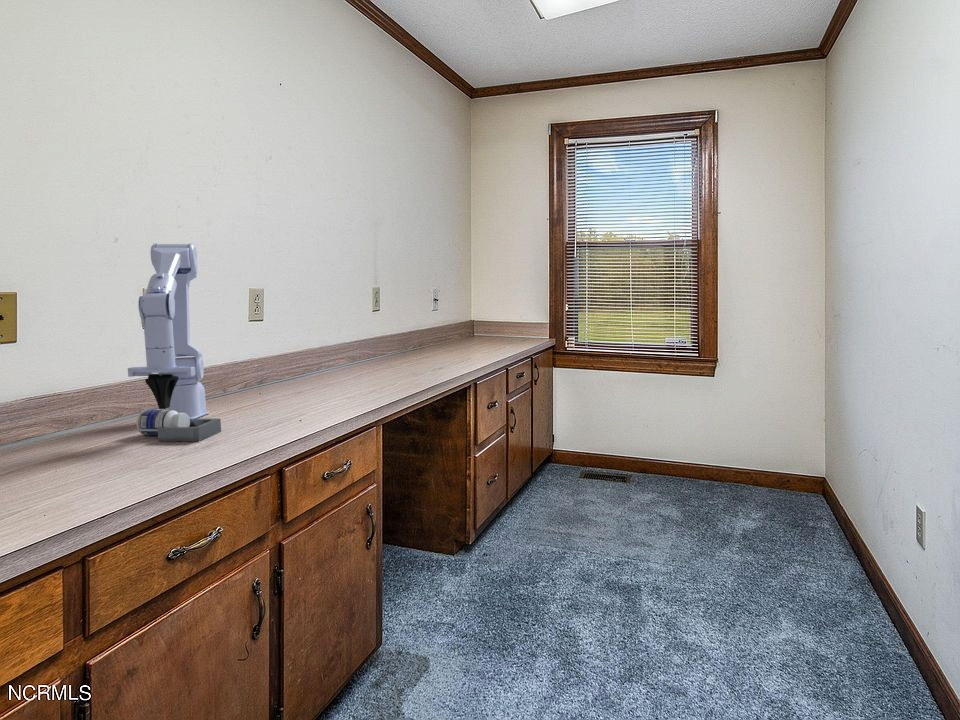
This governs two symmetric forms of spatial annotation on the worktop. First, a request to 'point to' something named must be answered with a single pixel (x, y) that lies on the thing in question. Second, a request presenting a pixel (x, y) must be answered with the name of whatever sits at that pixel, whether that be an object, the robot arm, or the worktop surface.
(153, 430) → the pill bottle
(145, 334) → the robot arm
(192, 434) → the metal u-channel bracket
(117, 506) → the worktop surface
